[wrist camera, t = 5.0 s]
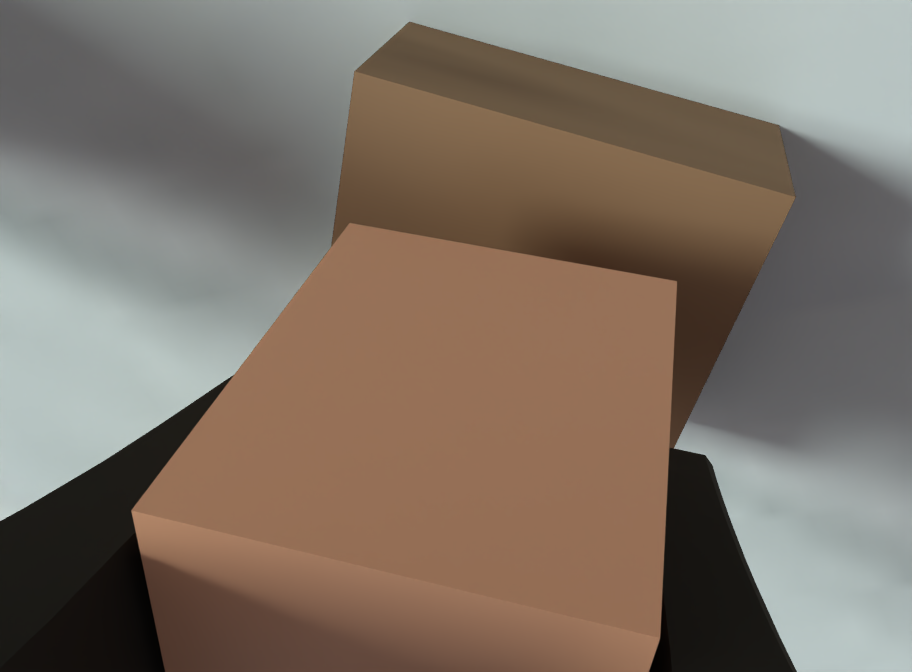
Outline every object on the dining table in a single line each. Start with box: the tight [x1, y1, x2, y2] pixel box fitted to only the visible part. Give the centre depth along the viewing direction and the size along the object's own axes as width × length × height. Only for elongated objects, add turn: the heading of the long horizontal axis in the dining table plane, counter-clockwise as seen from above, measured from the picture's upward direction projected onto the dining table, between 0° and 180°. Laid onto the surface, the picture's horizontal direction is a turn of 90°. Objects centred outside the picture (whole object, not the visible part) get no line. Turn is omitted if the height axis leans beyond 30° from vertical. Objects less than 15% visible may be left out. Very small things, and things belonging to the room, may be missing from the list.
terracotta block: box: [131, 223, 677, 672], centre depth 9 cm, size 4×4×5 cm
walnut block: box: [331, 22, 796, 449], centre depth 14 cm, size 6×6×3 cm
